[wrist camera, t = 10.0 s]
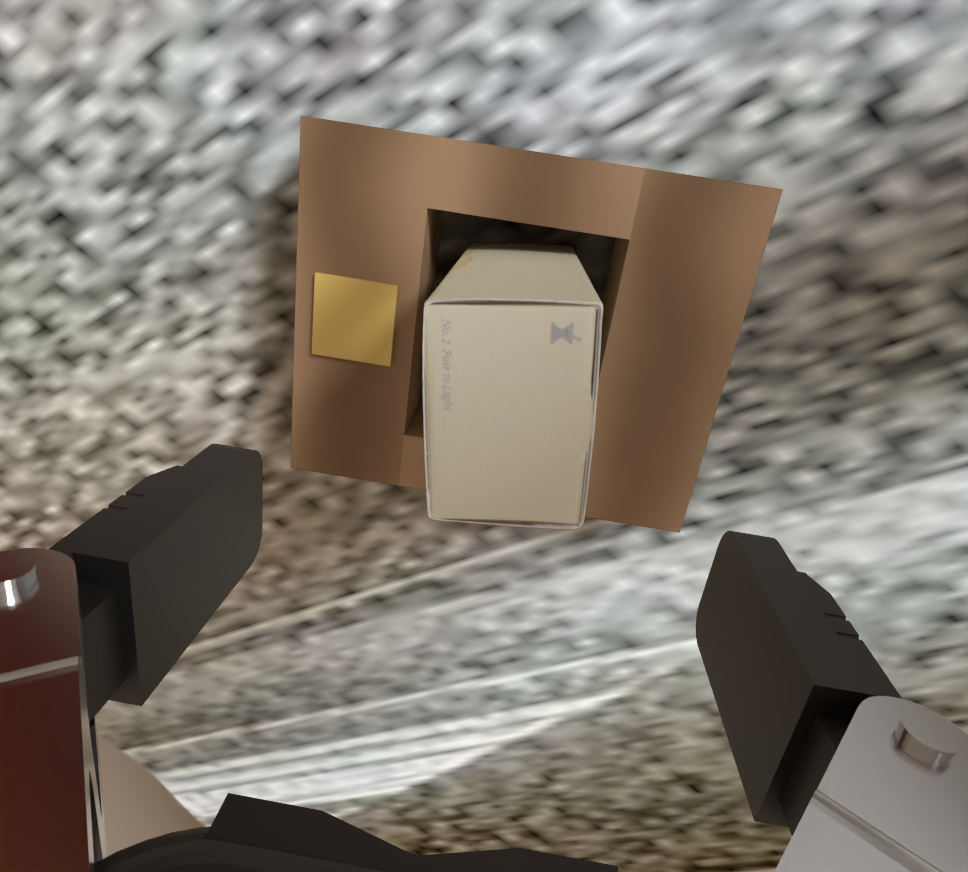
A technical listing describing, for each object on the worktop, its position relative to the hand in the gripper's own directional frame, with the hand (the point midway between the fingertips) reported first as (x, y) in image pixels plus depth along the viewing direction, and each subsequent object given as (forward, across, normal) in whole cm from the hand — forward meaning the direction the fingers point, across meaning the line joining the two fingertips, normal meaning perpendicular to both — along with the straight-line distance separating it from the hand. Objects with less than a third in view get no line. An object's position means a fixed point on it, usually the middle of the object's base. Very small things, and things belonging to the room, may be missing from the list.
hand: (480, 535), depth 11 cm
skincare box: (+18, 0, 0) cm, 18 cm away
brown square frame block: (+17, 0, 0) cm, 17 cm away
